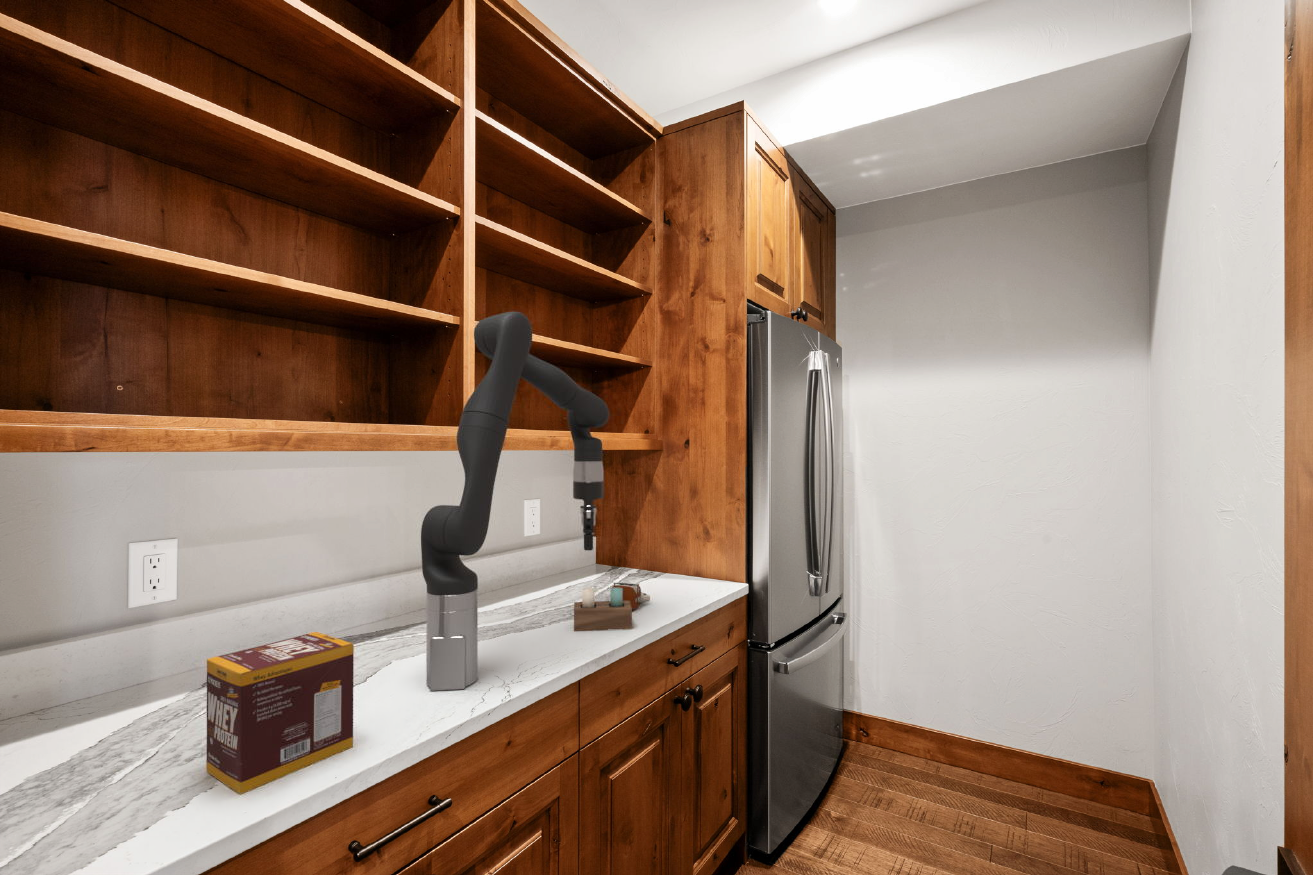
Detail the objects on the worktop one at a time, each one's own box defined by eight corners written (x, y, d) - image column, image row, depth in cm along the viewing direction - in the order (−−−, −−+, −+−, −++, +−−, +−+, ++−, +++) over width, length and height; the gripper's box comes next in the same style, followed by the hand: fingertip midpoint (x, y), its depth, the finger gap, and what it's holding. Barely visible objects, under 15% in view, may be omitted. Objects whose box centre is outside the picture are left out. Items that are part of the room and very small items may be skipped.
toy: (656, 583, 178) (637, 585, 164) (655, 607, 177) (635, 611, 163) (627, 580, 181) (606, 582, 168) (626, 604, 180) (604, 608, 166)
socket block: (631, 629, 150) (631, 608, 150) (573, 631, 148) (573, 610, 148) (629, 619, 158) (629, 600, 158) (574, 621, 156) (574, 602, 156)
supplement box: (203, 772, 84) (204, 658, 84) (317, 729, 97) (318, 630, 97) (238, 796, 78) (239, 673, 78) (354, 747, 91) (355, 641, 91)
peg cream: (594, 611, 151) (594, 590, 151) (582, 611, 151) (582, 591, 151) (594, 608, 154) (594, 588, 154) (582, 608, 154) (582, 588, 154)
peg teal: (622, 610, 152) (622, 589, 152) (610, 610, 152) (610, 590, 152) (622, 607, 155) (622, 587, 155) (610, 607, 155) (610, 587, 155)
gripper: (573, 478, 160) (573, 544, 159) (572, 481, 145) (572, 553, 145) (602, 478, 160) (602, 543, 160) (604, 481, 146) (604, 553, 146)
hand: (588, 548), depth 153 cm, fingers open, 4 cm apart
